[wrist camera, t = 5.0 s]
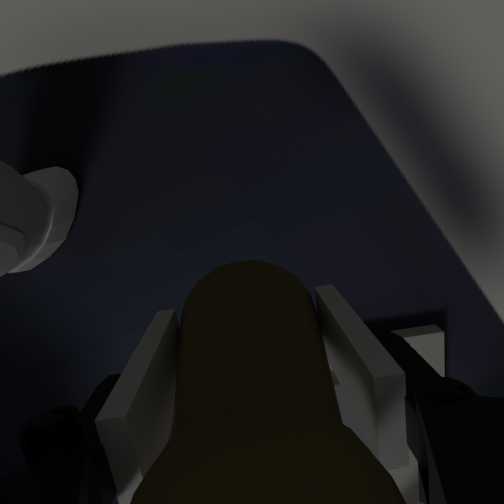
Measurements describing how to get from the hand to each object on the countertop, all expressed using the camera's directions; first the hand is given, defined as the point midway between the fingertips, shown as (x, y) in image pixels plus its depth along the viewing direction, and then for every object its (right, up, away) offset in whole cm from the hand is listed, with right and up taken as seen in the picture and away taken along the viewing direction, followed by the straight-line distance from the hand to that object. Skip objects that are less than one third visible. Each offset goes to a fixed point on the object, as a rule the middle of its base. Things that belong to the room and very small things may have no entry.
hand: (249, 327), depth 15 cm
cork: (0, 0, +1) cm, 1 cm away
